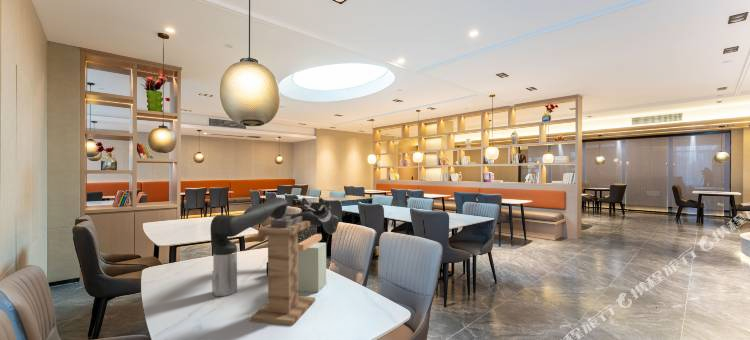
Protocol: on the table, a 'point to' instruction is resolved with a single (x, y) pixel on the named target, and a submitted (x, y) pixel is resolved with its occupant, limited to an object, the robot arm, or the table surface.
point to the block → (309, 242)
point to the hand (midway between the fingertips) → (311, 199)
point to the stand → (283, 273)
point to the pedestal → (312, 268)
